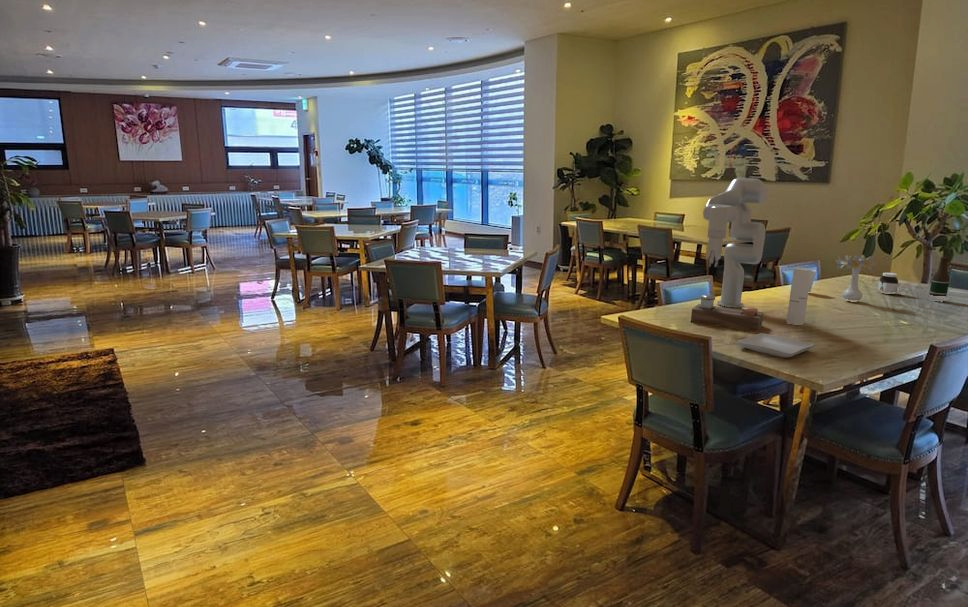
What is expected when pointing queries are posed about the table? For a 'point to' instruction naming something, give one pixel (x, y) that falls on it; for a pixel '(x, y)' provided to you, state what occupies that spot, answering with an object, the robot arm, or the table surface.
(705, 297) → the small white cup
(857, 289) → the flower vase
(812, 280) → the foam cup
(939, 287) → the beer bottle
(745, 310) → the terracotta plunger
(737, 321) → the button stand
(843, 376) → the table surface
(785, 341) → the salad plate
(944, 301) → the table surface
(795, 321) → the white tall box
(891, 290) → the spread jar
